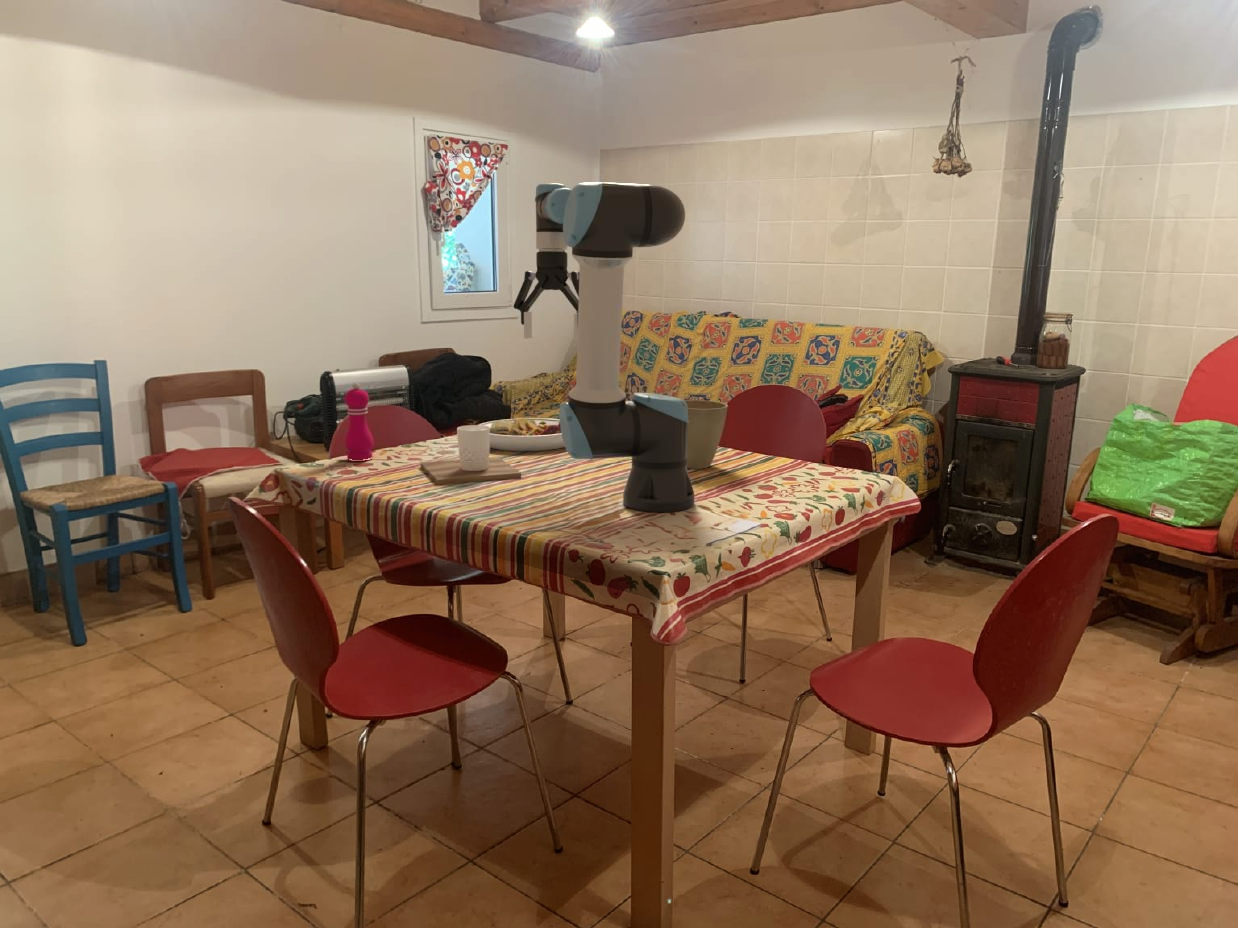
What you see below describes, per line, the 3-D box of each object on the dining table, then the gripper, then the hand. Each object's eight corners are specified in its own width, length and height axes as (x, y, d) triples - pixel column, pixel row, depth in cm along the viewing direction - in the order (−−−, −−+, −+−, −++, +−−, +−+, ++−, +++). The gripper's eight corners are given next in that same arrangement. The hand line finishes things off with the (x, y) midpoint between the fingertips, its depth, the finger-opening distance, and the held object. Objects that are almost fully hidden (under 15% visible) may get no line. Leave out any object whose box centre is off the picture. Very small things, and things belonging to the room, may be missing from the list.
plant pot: (669, 472, 218) (670, 408, 215) (664, 460, 233) (665, 399, 229) (730, 472, 219) (732, 408, 215) (721, 460, 233) (723, 400, 230)
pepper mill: (367, 462, 227) (363, 384, 223) (340, 461, 228) (336, 384, 224) (379, 457, 234) (375, 381, 230) (353, 456, 235) (349, 380, 231)
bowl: (456, 450, 246) (455, 422, 244) (502, 432, 274) (501, 406, 272) (558, 457, 237) (557, 428, 236) (594, 437, 265) (594, 411, 264)
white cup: (485, 472, 212) (484, 431, 210) (453, 471, 213) (452, 430, 211) (495, 465, 219) (494, 425, 217) (464, 464, 220) (463, 424, 218)
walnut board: (521, 477, 212) (521, 472, 212) (437, 484, 204) (437, 479, 204) (498, 461, 230) (498, 456, 230) (420, 467, 222) (420, 462, 222)
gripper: (605, 251, 214) (605, 339, 219) (513, 251, 223) (515, 336, 228) (592, 250, 207) (592, 342, 212) (498, 250, 216) (500, 338, 221)
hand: (552, 339), depth 220 cm, fingers open, 13 cm apart
